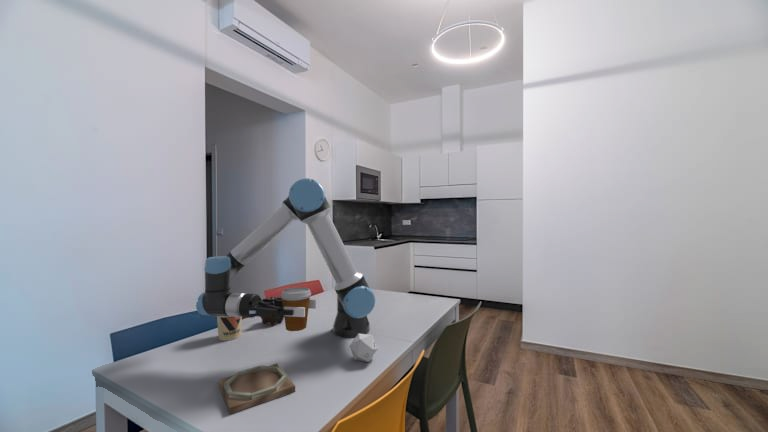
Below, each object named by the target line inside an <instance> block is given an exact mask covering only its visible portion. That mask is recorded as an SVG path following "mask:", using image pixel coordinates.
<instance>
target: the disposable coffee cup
mask: <svg viewBox="0 0 768 432" xmlns="http://www.w3.org/2000/svg"><path fill="white" fill-rule="evenodd" d="M311 296H312V291H311V290H310V288H308V287H302V286H300V287H289V288H285V289H283V290H282V291H281V294H280V297H281V298H282V303H283V309H284V307H305V317H291V316H284V318H283V319H284V325H285V329H286V331H288V332H299V331H303V330H305V329H306V328H307V326H308V325H307V323H308V315H309V309H310V308H309V300H311V299H310V298H311Z"/></svg>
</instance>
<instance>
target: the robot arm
mask: <svg viewBox="0 0 768 432" xmlns="http://www.w3.org/2000/svg"><path fill="white" fill-rule="evenodd" d="M330 211H331V205H330V204H329V202H328V200H327V198H326V195H325V190H324V188H323V186H322V185H321V184H320V183H319V182H318V181H317V180H315V179H313V178H307V177H306V178H301V179H299V180H296V181H295V182H294V183H293V184H292V185H291V186H290V188H289V192H288V196H287V197H286V198H285V199H284V200H283V201H282V202H281V207H279V208H278V209H277V210H276V211H274V213H273V214H271V215H270V216H269V217H267V219H266V220H265V221H263V222H262V223H261V224H260V225H258V227H256V228H255V229H254V230H253V231H252V232H251V233H249V235H247V236H246V237H245V238H244V239H243V240H242V241H240V242H239V243H238V244H237V245H236V246H235V247H233V249H232V250H230V251H229V252H228V253H227V254H226V255H219V256H210V257H207V258H206V259H205V262H204V263H205V265H204V282H205V283H204V292H202V293H201V294H200V295H199V296H198V297H197V301H196V303H195V308H196V311H197V313H199V315H204V316H210V317H217V316H233V317H235V318H238V317H242V318H255V317H260V318H261V317H267V318H275V319H276V318H278V316H279V319H283V320H284V318H283V315H284V316H291V317H305V307H284V309H283V303H282V298H281V296H280V297H279V296H278V297H277V296H271V297H269V298H261V296H260V295H259V294H257V293H245V292H244V293H243V292H231V289H232V288H231V285H232V284H231V282H232V281H231V280H232V278H233V277H234V276H235V275H237V274H238V273H239V272H240V271H241V270H242V269H243V268H244V267H245V266H246V265H248V263H250V262H251V261H252V260H253V259H254V258H255V257H256V256H257V255H258V254H259V253H260V252H262V251H263V250H264V249H265V248H266V247H268V245H270V243H272V242H273V241H274V240H275V239H276V238H277V237H279V235H281V234H282V233H283V232H284V231H285V230H286V229H288V227H290V226H291V225H292V224H293V223H294V222H296V221H300V222H301V223H303V224H306V225H307V227H308V230H309V232H310V233H311V235H312V236H313V239H314V241H315V243H316V245H317V247H318V249H319V251H320V253H321V255H322V258H323V259H324V261H325V263H326V265H327V267H328V270H329V271H330V273H331V276H332V277H333V280H334V281H335V285H334V287H333V289H334V291H335V293H336V294H337V295H336V298H337V299H336V301H337V302H336V307H337V309H336V310H337V312H336V316H335V318H334V322H333V325H332V331H333V332H332V333H333V334H334V335H336V336H339V337H345V338H346V337H347V338H351V337H352V338H355V337H356V336H357V335H358V333H360V334H367V333H369V332H370V330H371V329H370V327H371V326H370V325H371V324H370V321H369V318H368V315H369V314H371V312H372V311H373V310H374V308H375V305H376V296H375V294H374V291H373V290H372V288H370V286H369V284H368V282H367V280H366V276H365V275H364V274H363V273H362V272H360V271H359V272H358V271H357V269H356V267H355V264H354V263H353V261H352V259H351V257H350V254H349V253H348V251H347V249H346V246H345V243H343V240H342V238H341V236H340V234H339V232H338V230H337V228H336V226H335V224H334V222H333V220H332V218H331V216H330ZM308 309H317V299H310V300H309V308H308Z"/></svg>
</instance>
